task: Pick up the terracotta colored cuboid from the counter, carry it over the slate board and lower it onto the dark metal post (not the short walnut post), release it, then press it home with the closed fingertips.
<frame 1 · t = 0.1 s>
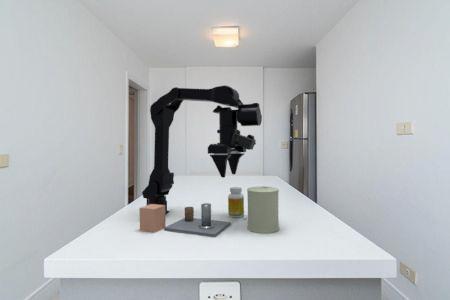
hand: (228, 175, 84), 15 cm above the counter, fingers open, 9 cm apart
supplement bottle: (236, 216, 91), on the counter
terracotta colored cuboid: (152, 228, 77), on the counter
walnut post: (189, 222, 83), resting on board
marker post: (206, 229, 76), resting on board
board: (198, 227, 78), on the counter
can: (263, 228, 77), on the counter
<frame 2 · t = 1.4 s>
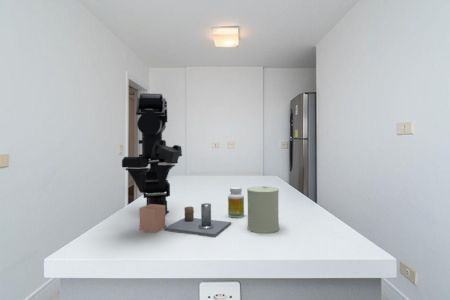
hand: (152, 190, 77), 11 cm above the counter, fingers open, 9 cm apart
nothing on the counter moved.
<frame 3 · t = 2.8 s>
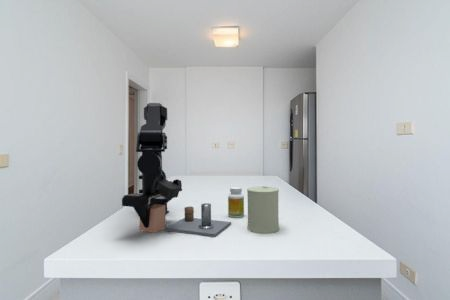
hand: (152, 224, 77), 1 cm above the counter, fingers closed on terracotta colored cuboid, 5 cm apart
terracotta colored cuboid: (152, 228, 77), on the counter, touching gripper
everything else where it was.
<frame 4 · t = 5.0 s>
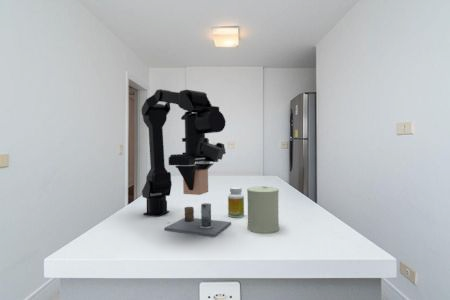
hand: (196, 188, 76), 12 cm above the counter, fingers closed on terracotta colored cuboid, 5 cm apart
terracotta colored cuboid: (196, 192, 76), point 11 cm above the counter, touching gripper
everything else where it was.
when the fingers open (4 cm above the counter, at t = 7.2 s): terracotta colored cuboid drops 1 cm, resting on marker post.
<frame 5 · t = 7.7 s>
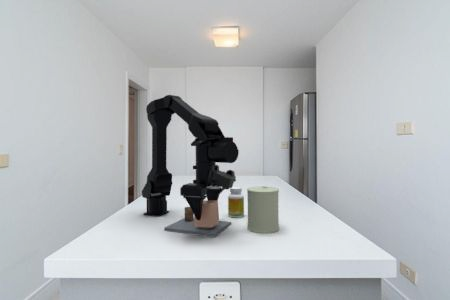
hand: (206, 215, 76), 4 cm above the counter, fingers open, 9 cm apart
terracotta colored cuboid: (207, 225, 75), point 1 cm above the counter, tilted 5°, touching marker post
everything else where it was.
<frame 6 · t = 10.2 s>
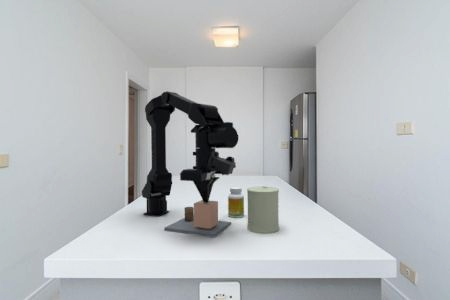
hand: (206, 202, 76), 8 cm above the counter, fingers closed
nothing on the counter moved.
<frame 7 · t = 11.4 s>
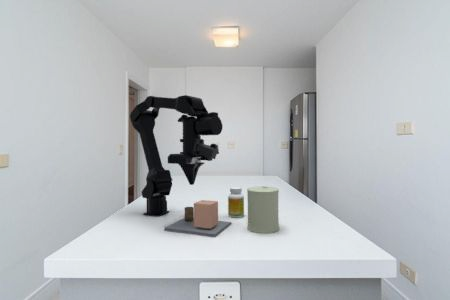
hand: (191, 184, 84), 12 cm above the counter, fingers closed
nothing on the counter moved.
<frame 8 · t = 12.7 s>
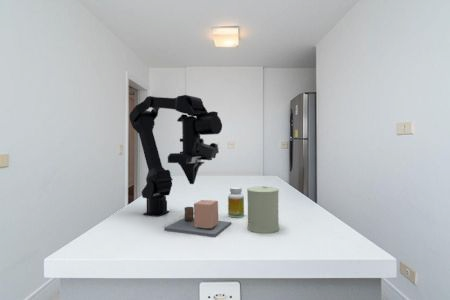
hand: (191, 184, 84), 12 cm above the counter, fingers closed
nothing on the counter moved.
at the end: terracotta colored cuboid 0.2 cm from the marker post (horizontally); terracotta colored cuboid point 1.3 cm above the counter; terracotta colored cuboid tilted 2° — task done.
